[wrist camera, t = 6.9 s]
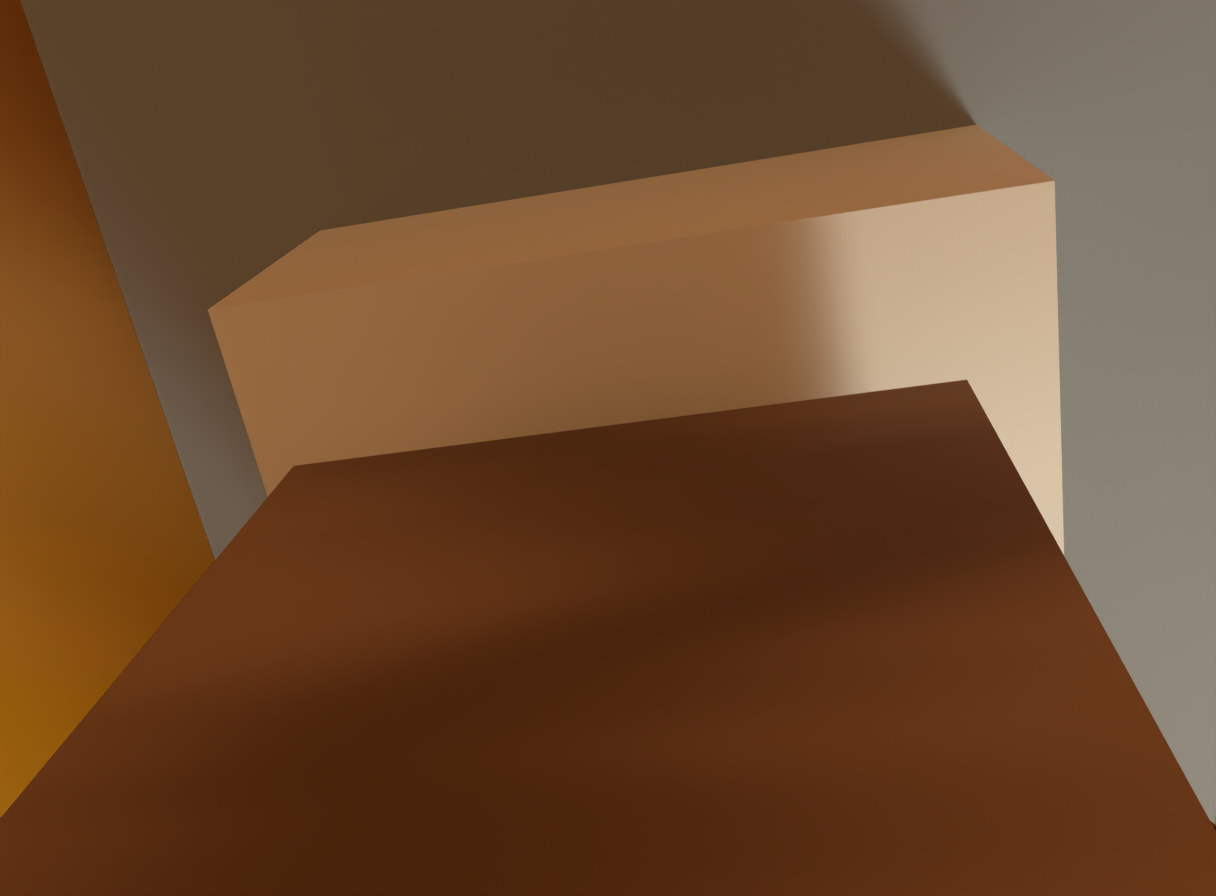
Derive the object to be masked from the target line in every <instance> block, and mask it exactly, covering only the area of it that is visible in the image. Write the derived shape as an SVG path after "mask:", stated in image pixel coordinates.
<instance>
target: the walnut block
mask: <svg viewBox="0 0 1216 896" xmlns="http://www.w3.org/2000/svg"><path fill="white" fill-rule="evenodd" d="M0 896H1216V831H1215V829H1214V827H1213V825H1212V823H1211V821H1210V820H1209V818H1208V816H1207V814H1206V812H1205V811H1204V809H1203V807H1202V805H1201V803H1200V802H1199V800H1198V798H1197V796H1196V794H1195V792H1194V791H1193V789H1192V787H1191V785H1190V783H1189V782H1188V780H1187V778H1186V776H1185V774H1184V772H1183V771H1182V769H1181V767H1180V765H1179V763H1178V762H1177V760H1176V758H1175V756H1174V754H1173V752H1172V751H1171V749H1170V747H1169V745H1168V743H1167V742H1166V740H1165V738H1164V736H1163V734H1162V733H1161V731H1160V729H1159V727H1158V725H1157V723H1156V722H1155V720H1154V718H1153V716H1152V714H1151V713H1150V711H1149V709H1148V707H1147V705H1146V703H1145V702H1144V700H1143V698H1142V696H1141V694H1140V693H1139V691H1138V689H1137V687H1136V685H1135V684H1134V682H1133V680H1132V678H1131V676H1130V674H1129V673H1128V671H1127V669H1126V667H1125V665H1124V664H1123V662H1122V660H1121V658H1120V656H1119V654H1118V653H1117V651H1116V649H1115V647H1114V645H1113V644H1112V642H1111V640H1110V638H1109V636H1108V634H1107V633H1106V631H1105V629H1104V627H1103V625H1102V624H1101V622H1100V620H1099V618H1098V616H1097V615H1096V613H1095V611H1094V609H1093V607H1092V605H1091V604H1090V602H1089V600H1088V598H1087V596H1086V595H1085V593H1084V591H1083V589H1082V587H1081V585H1080V584H1079V582H1078V580H1077V578H1076V576H1075V575H1074V573H1073V571H1072V569H1071V567H1070V565H1069V564H1068V562H1067V560H1066V558H1065V556H1064V555H1063V553H1062V551H1061V549H1060V547H1059V546H1058V544H1057V542H1056V540H1055V538H1054V536H1053V535H1052V533H1051V531H1050V529H1049V527H1048V526H1047V524H1046V522H1045V520H1044V518H1043V516H1042V515H1041V513H1040V511H1039V509H1038V507H1037V506H1036V504H1035V502H1034V500H1033V498H1032V497H1031V495H1030V493H1029V491H1028V489H1027V487H1026V486H1025V484H1024V482H1023V480H1022V478H1021V477H1020V475H1019V473H1018V471H1017V469H1016V467H1015V466H1014V464H1013V462H1012V460H1011V458H1010V457H1009V455H1008V453H1007V451H1006V449H1005V447H1004V446H1003V444H1002V442H1001V440H1000V438H999V437H998V435H997V433H996V431H995V429H994V428H993V426H992V424H991V422H990V420H989V418H988V417H987V415H986V413H985V411H984V409H983V408H982V406H981V404H980V402H979V400H978V398H977V397H976V395H975V393H974V391H973V389H972V388H971V386H970V384H969V382H968V380H960V381H952V382H944V383H936V384H928V385H920V386H913V387H905V388H897V389H889V390H881V391H874V392H866V393H858V394H850V395H842V396H835V397H827V398H819V399H811V400H803V401H796V402H788V403H780V404H772V405H764V406H757V407H749V408H741V409H733V410H725V411H718V412H710V413H702V414H694V415H686V416H679V417H671V418H663V419H655V420H647V421H640V422H632V423H624V424H616V425H608V426H601V427H593V428H585V429H577V430H569V431H561V432H554V433H546V434H538V435H530V436H522V437H515V438H507V439H499V440H491V441H483V442H476V443H468V444H460V445H452V446H444V447H437V448H429V449H421V450H413V451H405V452H398V453H390V454H382V455H374V456H366V457H359V458H351V459H343V460H335V461H327V462H320V463H312V464H304V465H296V466H293V467H292V468H291V470H290V471H289V472H288V473H287V474H286V476H285V477H284V478H283V479H282V480H281V482H280V483H279V484H278V485H277V486H276V488H275V489H274V490H273V491H272V492H271V494H270V495H269V496H268V497H267V498H266V500H265V501H264V502H263V503H262V504H261V506H260V507H259V508H258V509H257V510H256V512H255V513H254V514H253V515H252V516H251V518H250V519H249V520H248V521H247V522H246V524H245V525H244V526H243V527H242V528H241V530H240V531H239V532H238V533H237V534H236V536H235V537H234V538H233V539H232V541H231V542H230V543H229V544H228V545H227V547H226V548H225V549H224V550H223V551H222V553H221V554H220V555H219V556H218V557H217V559H216V560H215V561H214V562H213V563H212V565H211V566H210V567H209V568H208V569H207V571H206V572H205V573H204V574H203V575H202V577H201V578H200V579H199V580H198V581H197V583H196V584H195V585H194V586H193V587H192V589H191V590H190V591H189V592H188V593H187V595H186V596H185V597H184V598H183V599H182V601H181V602H180V603H179V604H178V605H177V607H176V608H175V609H174V610H173V611H172V613H171V614H170V615H169V616H168V618H167V619H166V620H165V621H164V622H163V624H162V625H161V626H160V627H159V628H158V630H157V631H156V632H155V633H154V634H153V636H152V637H151V638H150V639H149V640H148V642H147V643H146V644H145V645H144V646H143V648H142V649H141V650H140V651H139V652H138V654H137V655H136V656H135V657H134V658H133V660H132V661H131V662H130V663H129V664H128V666H127V667H126V668H125V669H124V670H123V672H122V673H121V674H120V675H119V676H118V678H117V679H116V680H115V681H114V682H113V684H112V685H111V686H110V687H109V688H108V690H107V691H106V692H105V693H104V695H103V696H102V697H101V698H100V699H99V701H98V702H97V703H96V704H95V705H94V707H93V708H92V709H91V710H90V711H89V713H88V714H87V715H86V716H85V717H84V719H83V720H82V721H81V722H80V723H79V725H78V726H77V727H76V728H75V729H74V731H73V732H72V733H71V734H70V735H69V737H68V738H67V739H66V740H65V741H64V743H63V744H62V745H61V746H60V747H59V749H58V750H57V751H56V752H55V753H54V755H53V756H52V757H51V758H50V759H49V761H48V762H47V763H46V764H45V765H44V767H43V768H42V769H41V770H40V772H39V773H38V774H37V775H36V776H35V778H34V779H33V780H32V781H31V782H30V784H29V785H28V786H27V787H26V788H25V790H24V791H23V792H22V793H21V794H20V796H19V797H18V798H17V799H16V800H15V802H14V803H13V804H12V805H11V806H10V808H9V809H8V810H7V811H6V812H5V814H4V815H3V816H2V817H1V818H0Z"/></svg>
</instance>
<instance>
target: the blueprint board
mask: <svg viewBox="0 0 1216 896" xmlns="http://www.w3.org/2000/svg"><path fill="white" fill-rule="evenodd" d="M20 2H21V5H22V8H23V10H24V13H25V16H26V19H27V22H28V25H29V28H30V31H31V33H32V36H33V39H34V42H35V45H36V48H37V51H38V54H39V56H40V59H41V62H42V65H43V68H44V71H45V74H46V76H47V79H48V82H49V85H50V88H51V91H52V94H53V97H54V99H55V102H56V105H57V108H58V111H59V114H60V117H61V119H62V122H63V125H64V128H65V131H66V134H67V137H68V140H69V142H70V145H71V148H72V151H73V154H74V157H75V160H76V163H77V165H78V168H79V171H80V174H81V177H82V180H83V183H84V185H85V188H86V191H87V194H88V197H89V200H90V203H91V206H92V208H93V211H94V214H95V217H96V220H97V223H98V226H99V228H100V231H101V234H102V237H103V240H104V243H105V246H106V249H107V251H108V254H109V257H110V260H111V263H112V266H113V269H114V272H115V274H116V277H117V280H118V283H119V286H120V289H121V292H122V294H123V297H124V300H125V303H126V306H127V309H128V312H129V315H130V317H131V320H132V323H133V326H134V329H135V332H136V335H137V338H138V340H139V343H140V346H141V349H142V352H143V355H144V358H145V360H146V363H147V366H148V369H149V372H150V375H151V378H152V381H153V383H154V386H155V389H156V392H157V395H158V398H159V401H160V403H161V406H162V409H163V412H164V415H165V418H166V421H167V424H168V426H169V429H170V432H171V435H172V438H173V441H174V444H175V447H176V449H177V452H178V455H179V458H180V461H181V464H182V467H183V469H184V472H185V475H186V478H187V481H188V484H189V487H190V490H191V492H192V495H193V498H194V501H195V504H196V507H197V510H198V513H199V515H200V518H201V521H202V524H203V527H204V530H205V533H206V535H207V538H208V541H209V544H210V547H211V550H212V553H213V556H214V558H215V560H216V559H217V557H218V556H219V555H220V554H221V553H222V551H223V550H224V549H225V548H226V547H227V545H228V544H229V543H230V542H231V541H232V539H233V538H234V537H235V536H236V534H237V533H238V532H239V531H240V530H241V528H242V527H243V526H244V525H245V524H246V522H247V521H248V520H249V519H250V518H251V516H252V515H253V514H254V513H255V512H256V510H257V509H258V508H259V507H260V506H261V504H262V503H263V502H264V501H265V500H266V498H267V497H268V496H269V495H270V494H271V492H272V491H273V490H274V489H275V488H276V486H277V485H278V484H279V483H280V482H281V480H282V479H283V478H284V477H285V476H286V474H287V473H288V472H289V471H290V470H291V468H292V467H293V466H296V465H304V464H312V463H320V462H327V461H335V460H343V459H351V458H359V457H366V456H374V455H382V454H390V453H398V452H405V451H413V450H421V449H429V448H437V447H444V446H452V445H460V444H468V443H476V442H483V441H491V440H499V439H507V438H515V437H522V436H530V435H538V434H546V433H554V432H561V431H569V430H577V429H585V428H593V427H601V426H608V425H616V424H624V423H632V422H640V421H647V420H655V419H663V418H671V417H679V416H686V415H694V414H702V413H710V412H718V411H725V410H733V409H741V408H749V407H757V406H764V405H772V404H780V403H788V402H796V401H803V400H811V399H819V398H827V397H835V396H842V395H850V394H858V393H866V392H874V391H881V390H889V389H897V388H905V387H913V386H920V385H928V384H936V383H944V382H952V381H960V380H968V382H969V384H970V386H971V388H972V389H973V391H974V393H975V395H976V397H977V398H978V400H979V402H980V404H981V406H982V408H983V409H984V411H985V413H986V415H987V417H988V418H989V420H990V422H991V424H992V426H993V428H994V429H995V431H996V433H997V435H998V437H999V438H1000V440H1001V442H1002V444H1003V446H1004V447H1005V449H1006V451H1007V453H1008V455H1009V457H1010V458H1011V460H1012V462H1013V464H1014V466H1015V467H1016V469H1017V471H1018V473H1019V475H1020V477H1021V478H1022V480H1023V482H1024V484H1025V486H1026V487H1027V489H1028V491H1029V493H1030V495H1031V497H1032V498H1033V500H1034V502H1035V504H1036V506H1037V507H1038V509H1039V511H1040V513H1041V515H1042V516H1043V518H1044V520H1045V522H1046V524H1047V526H1048V527H1049V529H1050V531H1051V533H1052V535H1053V536H1054V538H1055V540H1056V542H1057V544H1058V546H1059V547H1060V549H1061V551H1062V553H1063V555H1064V556H1065V558H1066V560H1067V562H1068V564H1069V565H1070V567H1071V569H1072V571H1073V573H1074V575H1075V576H1076V578H1077V580H1078V582H1079V584H1080V585H1081V587H1082V589H1083V591H1084V593H1085V595H1086V596H1087V598H1088V600H1089V602H1090V604H1091V605H1092V607H1093V609H1094V611H1095V613H1096V615H1097V616H1098V618H1099V620H1100V622H1101V624H1102V625H1103V627H1104V629H1105V631H1106V633H1107V634H1108V636H1109V638H1110V640H1111V642H1112V644H1113V645H1114V647H1115V649H1116V651H1117V653H1118V654H1119V656H1120V658H1121V660H1122V662H1123V664H1124V665H1125V667H1126V669H1127V671H1128V673H1129V674H1130V676H1131V678H1132V680H1133V682H1134V684H1135V685H1136V687H1137V689H1138V691H1139V693H1140V694H1141V696H1142V698H1143V700H1144V702H1145V703H1146V705H1147V707H1148V709H1149V711H1150V713H1151V714H1152V716H1153V718H1154V720H1155V722H1156V723H1157V725H1158V727H1159V729H1160V731H1161V733H1162V734H1163V736H1164V738H1165V740H1166V742H1167V743H1168V745H1169V747H1170V749H1171V751H1172V752H1173V754H1174V756H1175V758H1176V760H1177V762H1178V763H1179V765H1180V767H1181V769H1182V771H1183V772H1184V774H1185V776H1186V778H1187V780H1188V782H1189V783H1190V785H1191V787H1192V789H1193V791H1194V792H1195V794H1196V796H1197V798H1198V800H1199V802H1200V803H1201V805H1202V807H1203V809H1204V811H1205V812H1206V814H1207V816H1208V818H1209V820H1210V821H1211V822H1213V823H1214V824H1215V813H1216V0H20Z"/></svg>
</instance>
